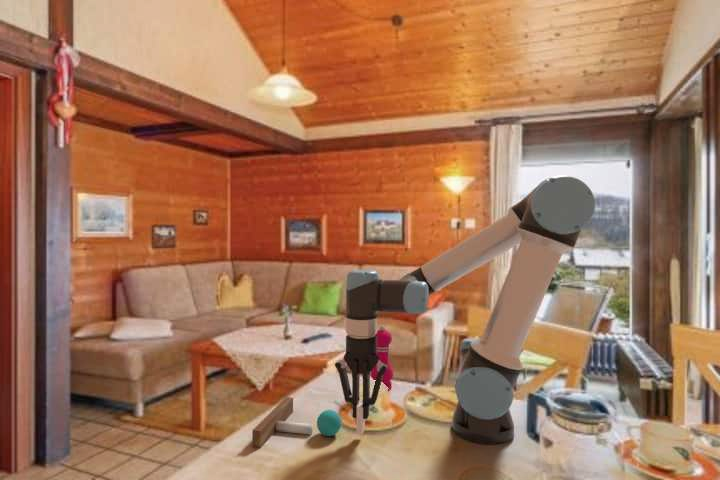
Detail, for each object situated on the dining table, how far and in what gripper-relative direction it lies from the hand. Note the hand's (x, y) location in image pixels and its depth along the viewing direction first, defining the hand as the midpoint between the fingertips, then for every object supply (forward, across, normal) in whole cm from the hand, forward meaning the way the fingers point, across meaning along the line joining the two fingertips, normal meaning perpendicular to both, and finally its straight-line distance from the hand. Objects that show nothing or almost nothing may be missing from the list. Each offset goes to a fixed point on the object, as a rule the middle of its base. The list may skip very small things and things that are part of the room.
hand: (360, 430), depth 106 cm
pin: (+1, +12, 0) cm, 12 cm away
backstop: (+2, +22, 0) cm, 23 cm away
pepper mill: (+2, +1, -34) cm, 34 cm away
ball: (-1, +8, 0) cm, 8 cm away
